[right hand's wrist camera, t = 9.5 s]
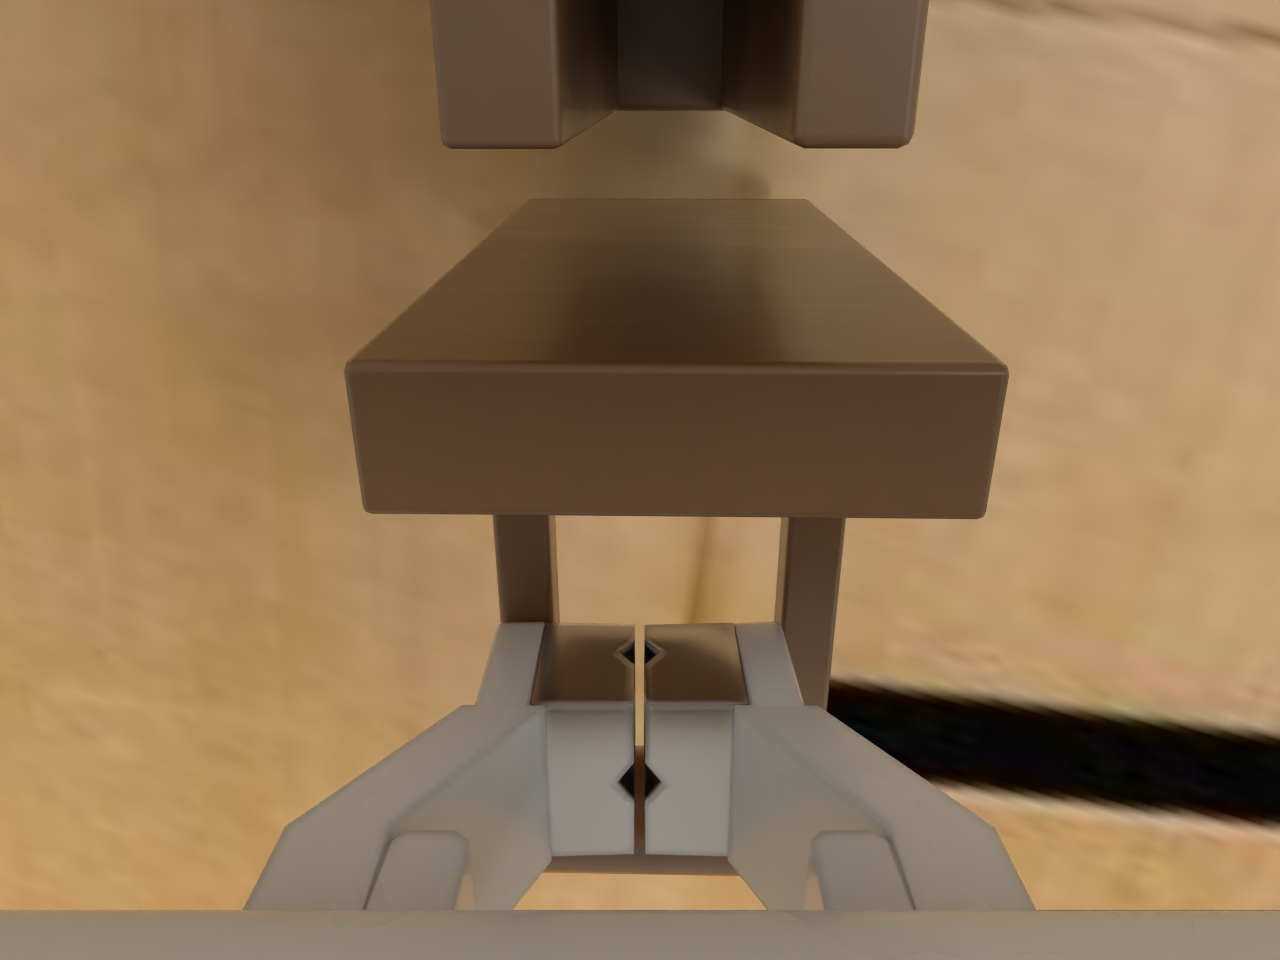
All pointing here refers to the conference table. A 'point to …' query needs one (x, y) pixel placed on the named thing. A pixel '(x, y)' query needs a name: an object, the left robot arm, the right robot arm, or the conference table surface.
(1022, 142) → the conference table surface
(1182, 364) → the conference table surface
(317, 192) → the conference table surface
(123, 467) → the conference table surface
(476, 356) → the drawer
